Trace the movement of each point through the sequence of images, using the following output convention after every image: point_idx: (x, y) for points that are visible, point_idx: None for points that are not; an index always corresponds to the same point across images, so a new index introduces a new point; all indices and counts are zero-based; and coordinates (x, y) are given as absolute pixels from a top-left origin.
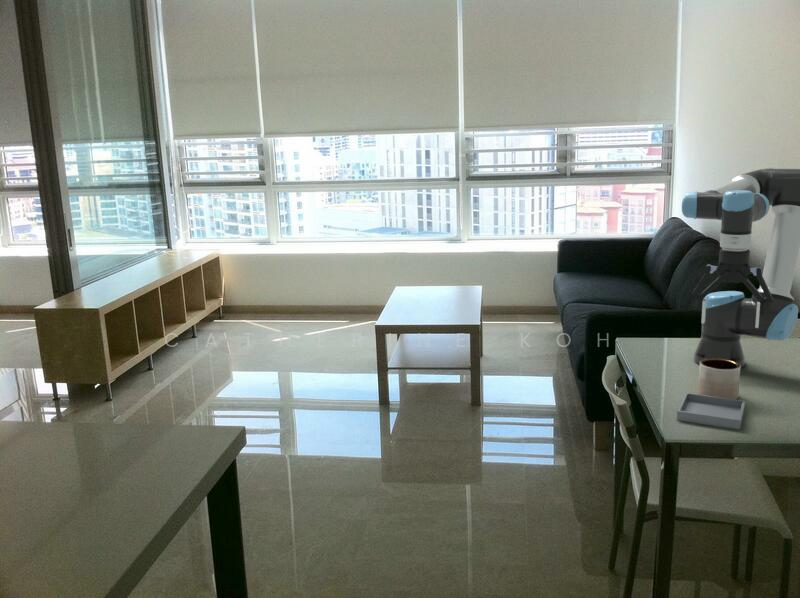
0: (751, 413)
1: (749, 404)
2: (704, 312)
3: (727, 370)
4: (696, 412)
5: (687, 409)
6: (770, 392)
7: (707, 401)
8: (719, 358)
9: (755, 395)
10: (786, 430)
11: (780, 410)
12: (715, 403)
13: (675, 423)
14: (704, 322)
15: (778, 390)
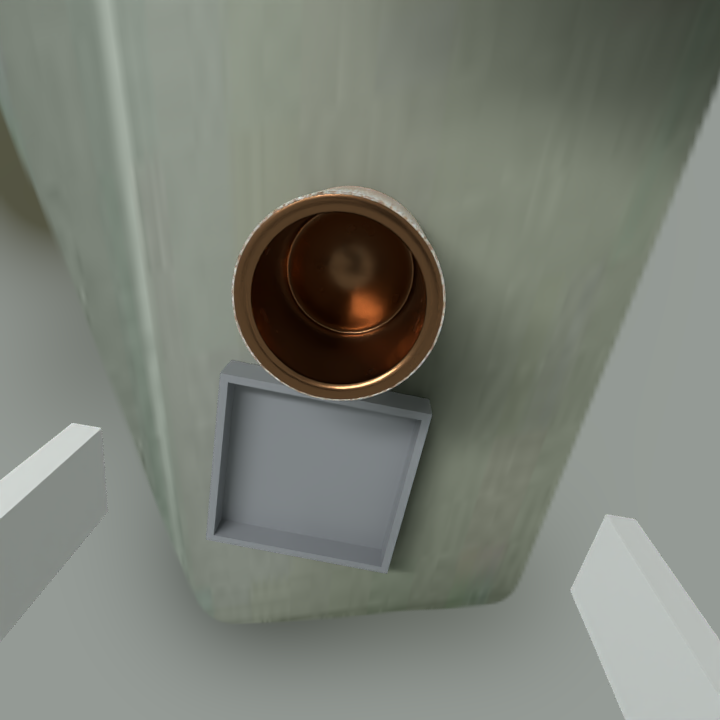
0: (446, 428)
1: (457, 345)
2: (17, 613)
3: (366, 397)
4: (269, 475)
5: (240, 456)
6: (583, 175)
7: None
8: (341, 197)
9: (505, 233)
10: (519, 534)
11: (554, 382)
12: None
13: None
14: (104, 489)
15: (631, 134)
